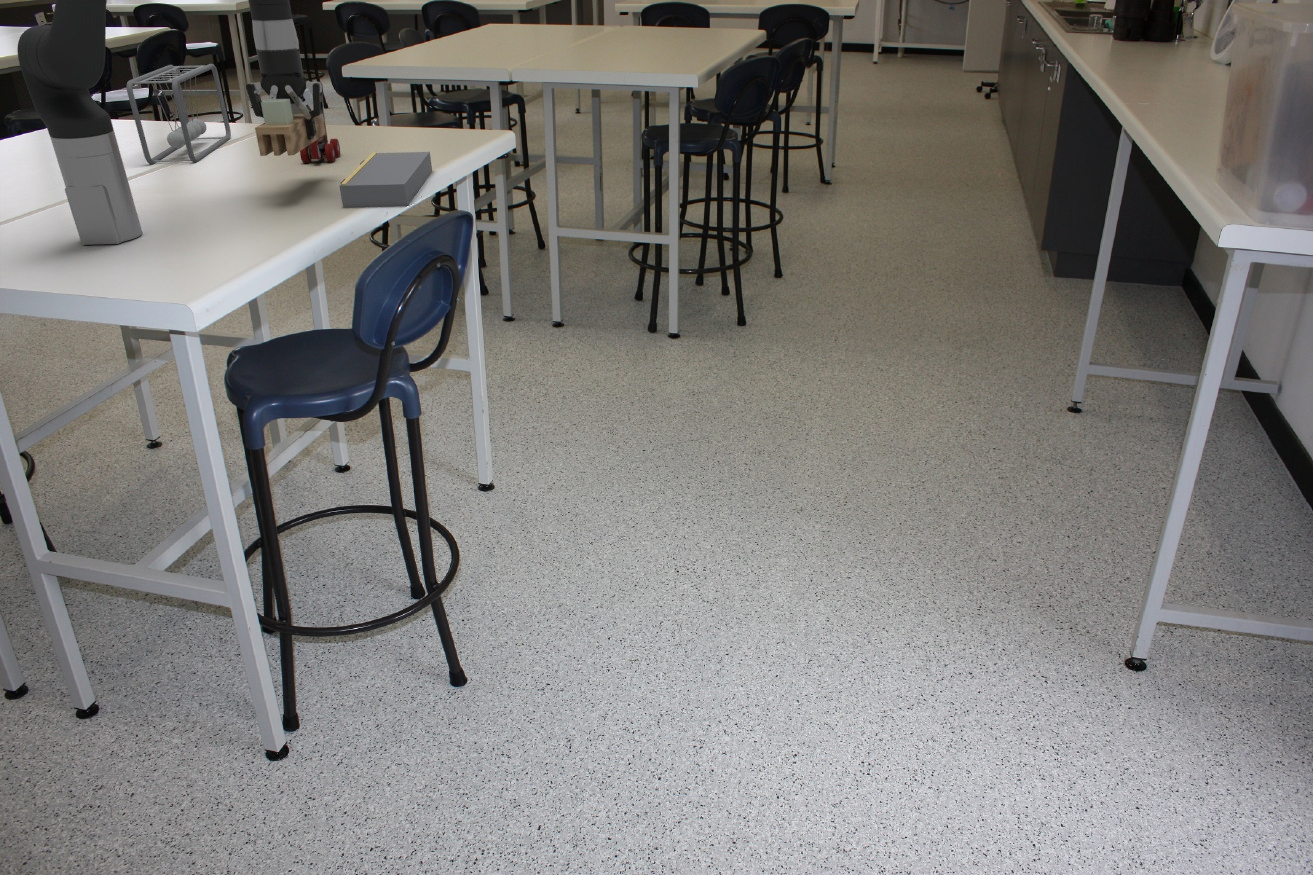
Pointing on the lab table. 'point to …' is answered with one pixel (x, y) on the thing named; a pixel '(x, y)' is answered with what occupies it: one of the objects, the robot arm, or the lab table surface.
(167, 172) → the lab table surface
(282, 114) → the block
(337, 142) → the toy fire truck
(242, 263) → the lab table surface
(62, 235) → the lab table surface
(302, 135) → the tan wooden bar
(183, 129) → the newton's cradle
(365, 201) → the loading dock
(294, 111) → the block
